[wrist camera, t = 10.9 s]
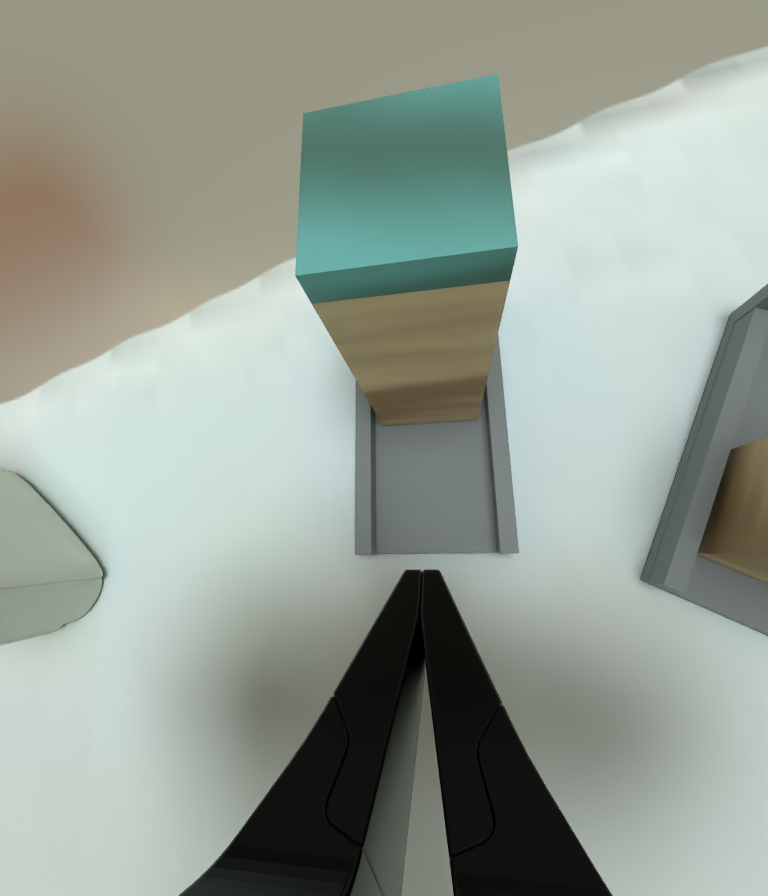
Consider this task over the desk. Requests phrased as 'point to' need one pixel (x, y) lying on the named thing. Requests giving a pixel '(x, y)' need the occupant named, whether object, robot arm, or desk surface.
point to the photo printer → (40, 566)
